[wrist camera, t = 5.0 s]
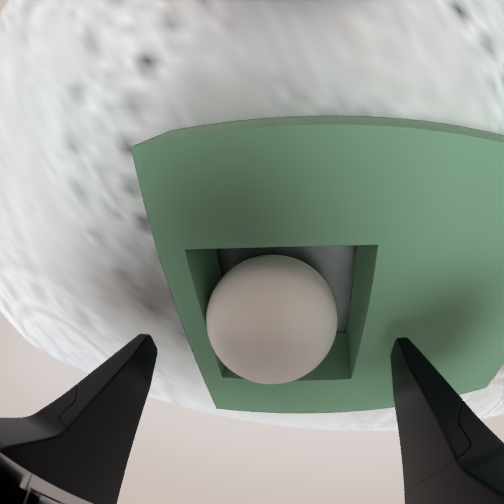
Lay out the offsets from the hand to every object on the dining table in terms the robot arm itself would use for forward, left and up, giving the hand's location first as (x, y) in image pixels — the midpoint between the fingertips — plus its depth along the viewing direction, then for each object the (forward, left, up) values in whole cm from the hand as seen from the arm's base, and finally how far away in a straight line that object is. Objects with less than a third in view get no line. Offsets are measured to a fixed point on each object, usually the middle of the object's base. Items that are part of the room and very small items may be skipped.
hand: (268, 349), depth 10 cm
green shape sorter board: (-5, 0, -4) cm, 6 cm away
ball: (0, 0, -2) cm, 2 cm away
